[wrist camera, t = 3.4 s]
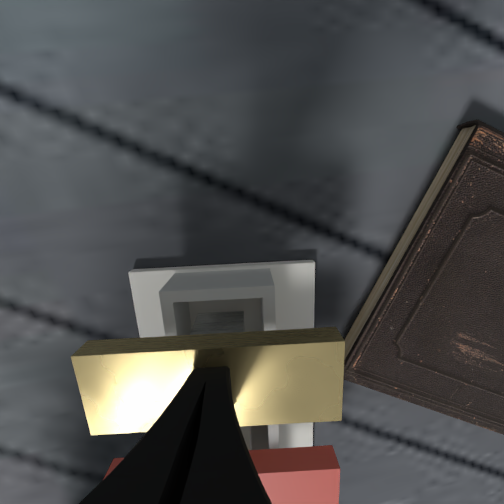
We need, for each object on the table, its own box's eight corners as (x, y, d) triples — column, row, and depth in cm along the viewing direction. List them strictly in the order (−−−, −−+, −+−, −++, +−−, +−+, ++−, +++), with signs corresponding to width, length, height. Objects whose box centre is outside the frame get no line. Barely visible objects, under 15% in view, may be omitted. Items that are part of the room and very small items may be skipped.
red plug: (314, 442, 15) (337, 528, 11) (150, 452, 15) (116, 542, 11) (314, 393, 14) (340, 468, 11) (140, 403, 14) (101, 483, 10)
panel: (310, 479, 20) (323, 537, 16) (170, 488, 20) (155, 548, 16) (312, 259, 15) (330, 278, 12) (132, 269, 15) (101, 291, 12)
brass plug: (315, 356, 14) (341, 420, 10) (134, 366, 14) (91, 435, 10) (315, 296, 13) (345, 341, 9) (123, 306, 13) (70, 356, 9)
